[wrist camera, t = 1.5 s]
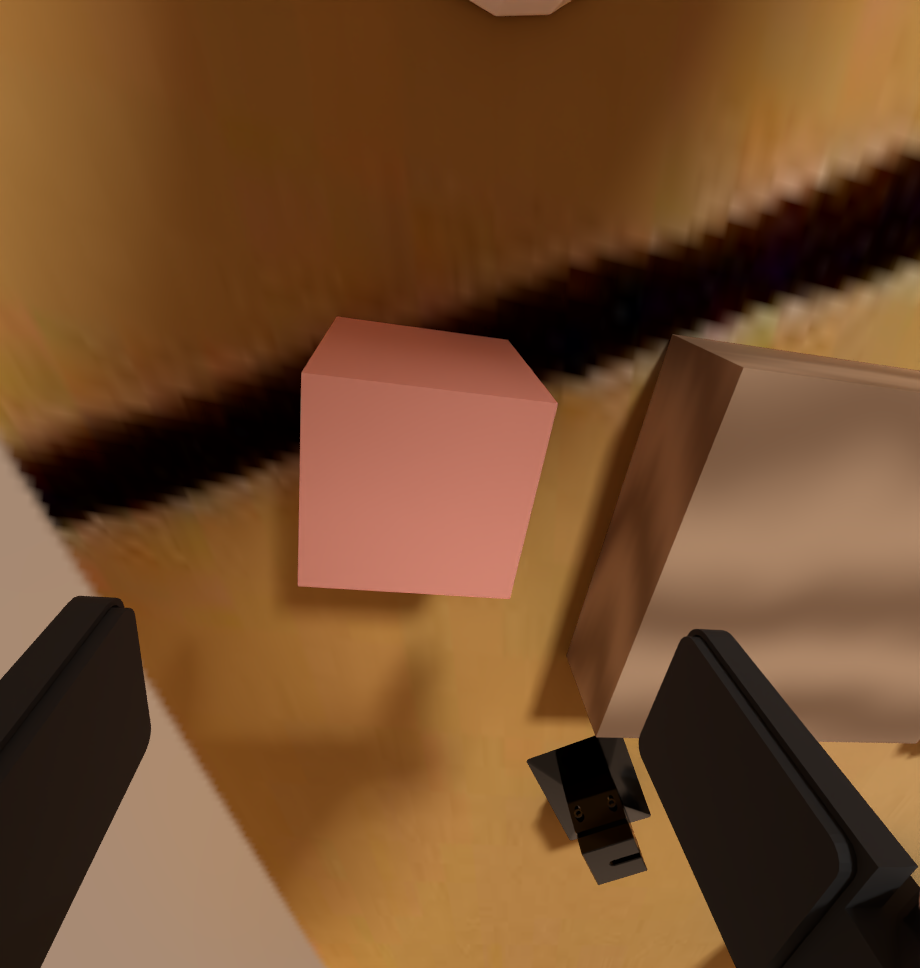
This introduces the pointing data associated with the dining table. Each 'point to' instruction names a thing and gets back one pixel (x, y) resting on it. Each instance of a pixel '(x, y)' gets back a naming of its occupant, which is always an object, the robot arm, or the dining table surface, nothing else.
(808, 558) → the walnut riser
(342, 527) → the red block
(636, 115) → the dining table surface
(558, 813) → the black boxy gadget
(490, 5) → the white cup
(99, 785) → the robot arm
